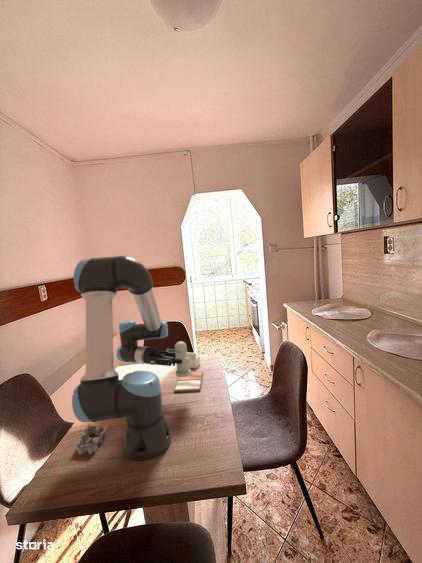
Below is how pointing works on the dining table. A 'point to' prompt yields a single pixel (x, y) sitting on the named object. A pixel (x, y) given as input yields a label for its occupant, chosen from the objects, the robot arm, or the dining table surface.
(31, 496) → the dining table surface
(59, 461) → the dining table surface
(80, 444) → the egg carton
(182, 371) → the pawn
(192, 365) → the die
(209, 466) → the dining table surface
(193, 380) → the board
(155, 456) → the robot arm
